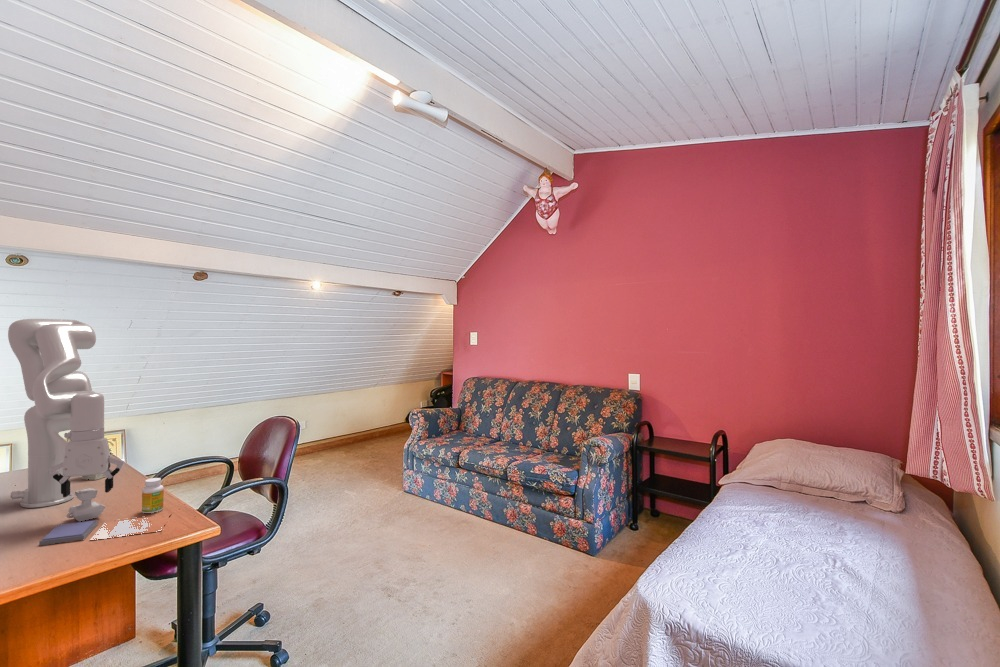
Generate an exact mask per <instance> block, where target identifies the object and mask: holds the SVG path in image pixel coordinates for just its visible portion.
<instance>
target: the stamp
mask: <svg viewBox="0 0 1000 667" xmlns="http://www.w3.org/2000/svg"><path fill="white" fill-rule="evenodd" d="M97 495H98V489H95V488H93V487H89V488H84V489H79V490H75V491H74V496H76V499H77V500H79V501H80V502H81V503H80V504H76V505H72V506H70V507H69V508H68V511H67V512H68V513H67V514H66V518H68V519H72V518H73V519H75V520H76V521H77V522H81V521H82V522H85V520H86V521H90V520H93V518H94V519H96V518H99V516H100V515H101V514H102V513H103V512H104V511H105V509H106V505H104V504H101V503H99V502H98V501H95V500H94V501H93V499H95V498H97ZM89 519H90V520H89Z"/></svg>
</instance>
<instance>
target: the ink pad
mask: <svg viewBox="0 0 1000 667" xmlns="http://www.w3.org/2000/svg"><path fill="white" fill-rule="evenodd" d="M97 524H98V525H99V520H96V519H95V520H86V521H82V522H79V521H77V522H69V523H62V524H58V525H56V526H55V527H54V528H52V530H51V531H49V532H48V533H47V534H46V535H45V536H43V538H41V539H40V540H39V547H42V546H41V545H44V546H49V545H48V544H51V545H56V544H55V543H59V544H62V543H61V542H66V543H69V542H68V541H74V542H76V541H75V540H81V541H84V540H86V538H88V536H89V535H90V534H91V533H92V532H93V531H94V530H95V528H96V527H97V526H98V525H97ZM93 529H94V530H93ZM92 530H93V531H92ZM91 531H92V532H91ZM90 532H91V533H90ZM89 533H90V534H89ZM88 534H89V535H88ZM83 539H84V540H83Z"/></svg>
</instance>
